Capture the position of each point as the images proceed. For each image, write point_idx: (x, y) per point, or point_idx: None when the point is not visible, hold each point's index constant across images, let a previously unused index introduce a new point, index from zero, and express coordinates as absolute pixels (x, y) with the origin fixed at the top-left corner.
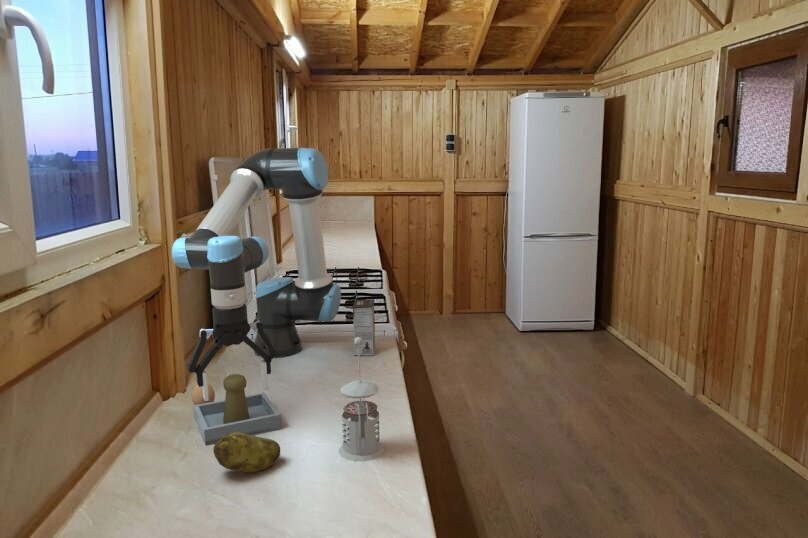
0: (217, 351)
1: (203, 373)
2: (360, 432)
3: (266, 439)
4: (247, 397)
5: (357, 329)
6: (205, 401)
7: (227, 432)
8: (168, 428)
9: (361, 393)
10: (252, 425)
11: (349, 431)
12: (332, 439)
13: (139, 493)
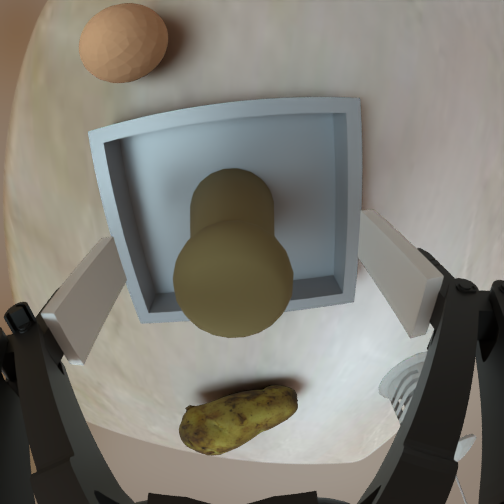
0: (114, 477)
1: (70, 360)
2: None
3: (276, 421)
4: (290, 113)
5: None
6: (129, 81)
7: None
8: (52, 172)
9: None
10: None
11: (399, 422)
12: (399, 344)
13: (88, 388)
